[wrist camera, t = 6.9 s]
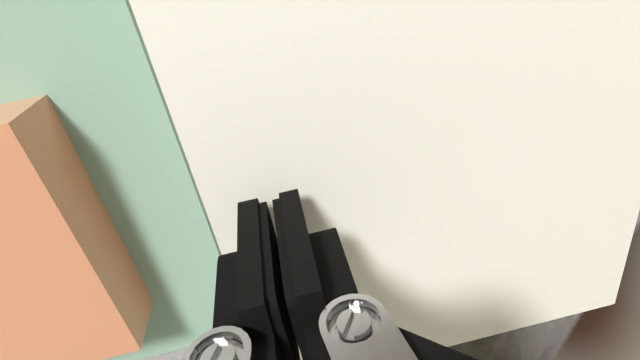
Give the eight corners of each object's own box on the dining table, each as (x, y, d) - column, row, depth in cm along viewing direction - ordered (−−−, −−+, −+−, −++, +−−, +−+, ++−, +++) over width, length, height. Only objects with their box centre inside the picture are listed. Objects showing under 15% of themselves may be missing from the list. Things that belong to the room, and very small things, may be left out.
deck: (147, -53, 12) (109, -54, 8) (605, -139, 13) (740, -172, 9) (266, 313, 19) (272, 392, 16) (550, 243, 20) (614, 303, 17)
